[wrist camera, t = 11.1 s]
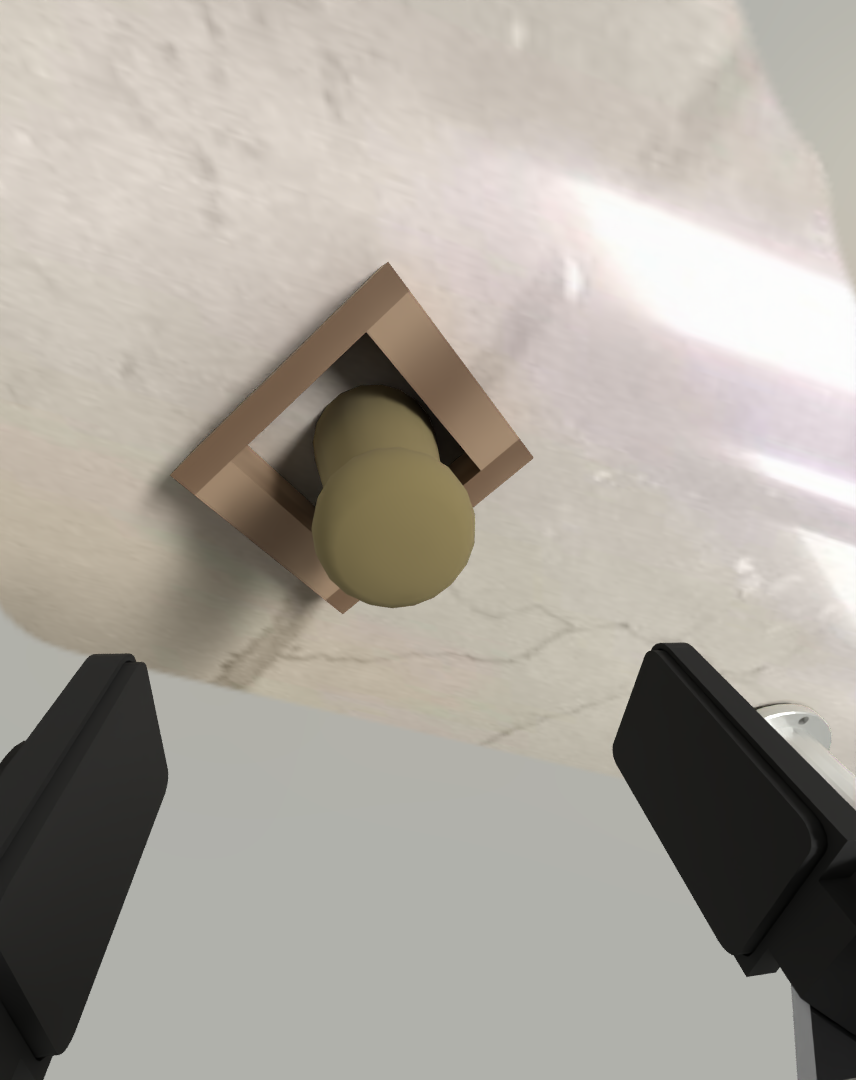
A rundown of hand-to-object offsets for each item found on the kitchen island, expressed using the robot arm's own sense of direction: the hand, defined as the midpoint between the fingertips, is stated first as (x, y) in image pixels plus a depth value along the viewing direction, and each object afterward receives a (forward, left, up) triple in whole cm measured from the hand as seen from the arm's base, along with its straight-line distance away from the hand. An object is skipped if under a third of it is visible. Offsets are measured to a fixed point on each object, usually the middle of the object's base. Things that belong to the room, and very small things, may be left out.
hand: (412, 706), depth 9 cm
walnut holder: (+1, 0, -17) cm, 17 cm away
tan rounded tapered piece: (0, 0, -17) cm, 17 cm away
